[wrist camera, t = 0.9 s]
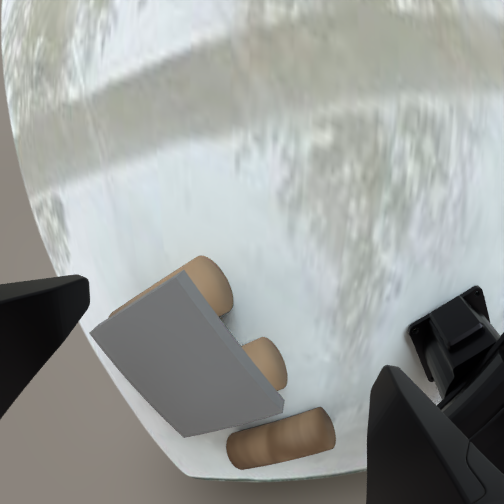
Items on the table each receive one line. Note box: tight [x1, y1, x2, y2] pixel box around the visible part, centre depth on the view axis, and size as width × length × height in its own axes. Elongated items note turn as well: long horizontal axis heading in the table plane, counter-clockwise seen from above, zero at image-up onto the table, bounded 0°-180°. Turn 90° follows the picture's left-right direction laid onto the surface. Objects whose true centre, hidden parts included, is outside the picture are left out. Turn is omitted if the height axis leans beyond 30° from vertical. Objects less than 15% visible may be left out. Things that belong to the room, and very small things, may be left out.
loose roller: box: [226, 407, 336, 470], centre depth 24 cm, size 4×9×4 cm, turn 124°
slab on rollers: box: [90, 256, 287, 438], centre depth 21 cm, size 11×9×5 cm
